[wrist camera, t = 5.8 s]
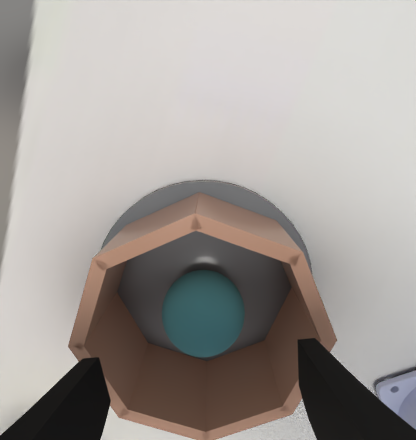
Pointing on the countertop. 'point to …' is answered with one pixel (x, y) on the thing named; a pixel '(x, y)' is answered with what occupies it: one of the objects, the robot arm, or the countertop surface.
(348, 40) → the countertop surface
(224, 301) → the ball
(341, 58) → the countertop surface
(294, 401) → the octagonal bowl
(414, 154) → the countertop surface
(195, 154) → the countertop surface
